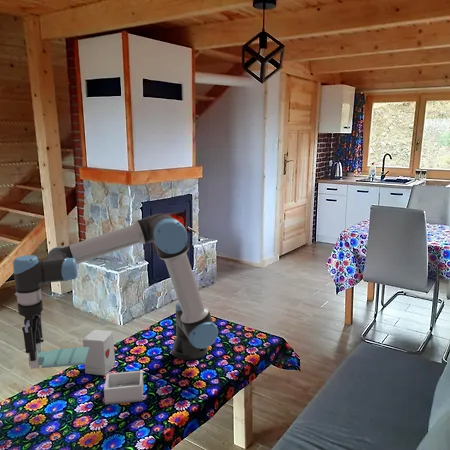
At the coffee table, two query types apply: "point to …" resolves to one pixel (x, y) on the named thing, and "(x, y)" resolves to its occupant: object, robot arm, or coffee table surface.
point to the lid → (63, 357)
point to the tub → (123, 387)
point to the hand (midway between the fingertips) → (36, 364)
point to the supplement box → (99, 352)
